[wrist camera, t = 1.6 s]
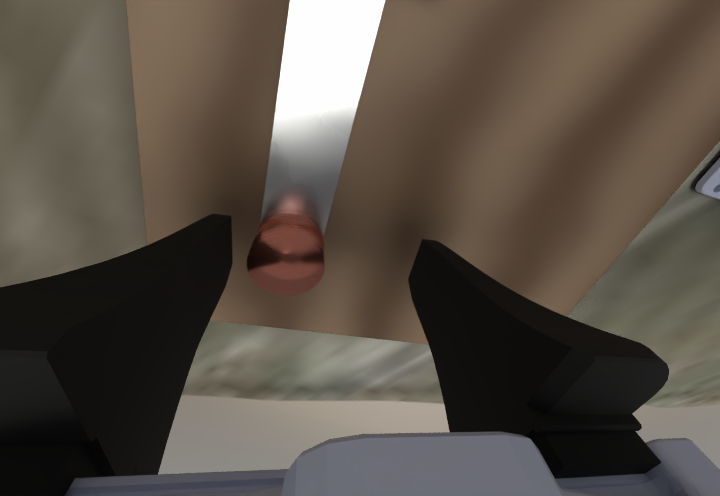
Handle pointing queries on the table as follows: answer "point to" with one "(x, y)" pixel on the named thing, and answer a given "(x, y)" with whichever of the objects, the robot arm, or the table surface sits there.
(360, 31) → the lever
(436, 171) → the board
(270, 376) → the table surface
